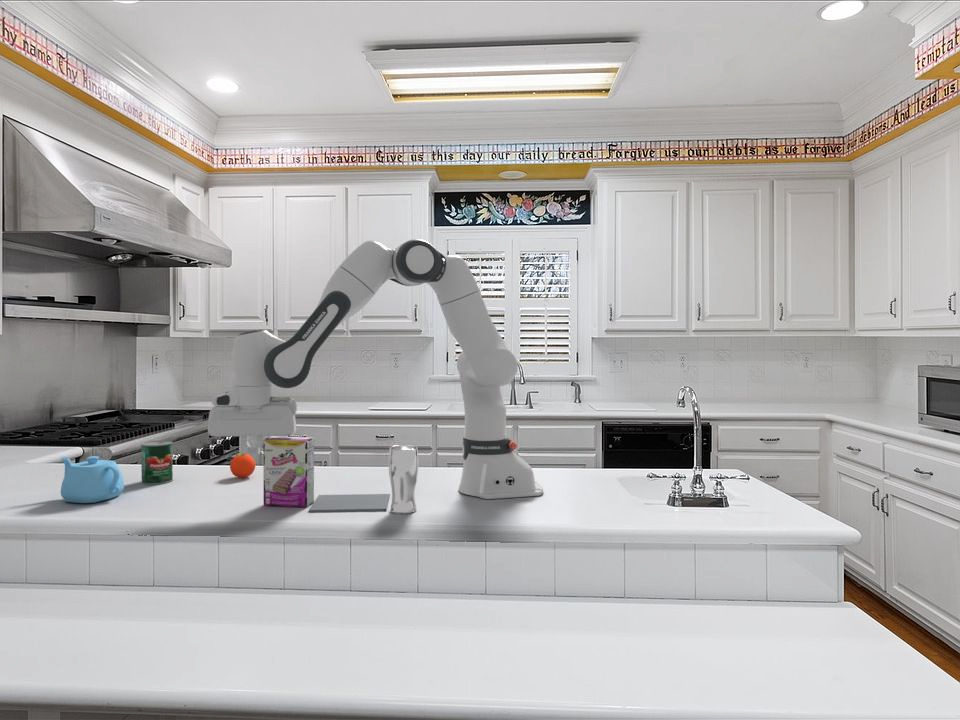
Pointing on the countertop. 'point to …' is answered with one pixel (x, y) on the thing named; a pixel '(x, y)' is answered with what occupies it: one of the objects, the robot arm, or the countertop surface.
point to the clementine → (242, 465)
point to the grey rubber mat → (350, 503)
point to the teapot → (91, 480)
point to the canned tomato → (156, 462)
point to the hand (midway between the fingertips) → (253, 454)
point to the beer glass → (403, 478)
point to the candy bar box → (288, 471)
